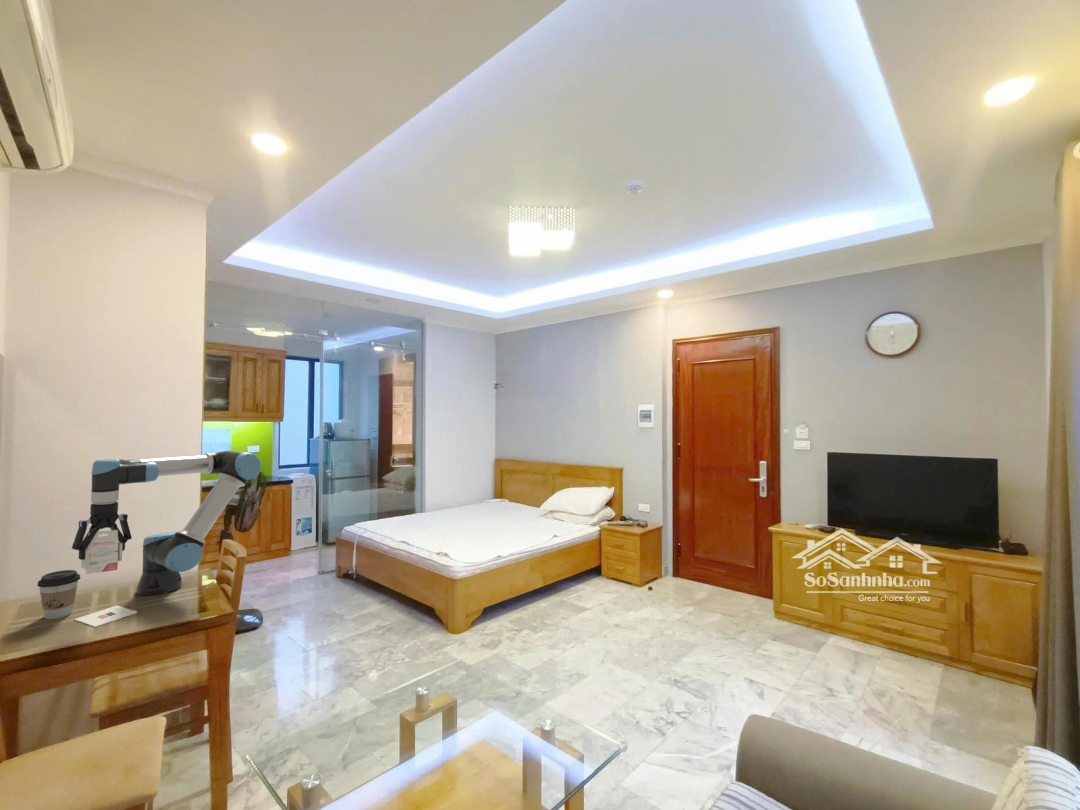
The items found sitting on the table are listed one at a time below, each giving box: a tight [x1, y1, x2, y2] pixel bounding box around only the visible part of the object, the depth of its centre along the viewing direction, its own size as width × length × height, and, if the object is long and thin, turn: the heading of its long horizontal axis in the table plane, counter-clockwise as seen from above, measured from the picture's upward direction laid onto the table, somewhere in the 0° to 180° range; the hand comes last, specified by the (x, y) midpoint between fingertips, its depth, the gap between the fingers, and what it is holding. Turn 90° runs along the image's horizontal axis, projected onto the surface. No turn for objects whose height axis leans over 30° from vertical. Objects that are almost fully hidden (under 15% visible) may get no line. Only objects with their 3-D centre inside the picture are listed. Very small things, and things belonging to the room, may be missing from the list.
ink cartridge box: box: [85, 529, 119, 575], centre depth 177 cm, size 9×5×15 cm, turn 131°
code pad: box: [74, 605, 139, 628], centre depth 178 cm, size 13×13×1 cm
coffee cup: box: [36, 569, 81, 620], centre depth 178 cm, size 11×11×15 cm
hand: (102, 564), depth 177 cm, fingers closed on ink cartridge box, 9 cm apart
